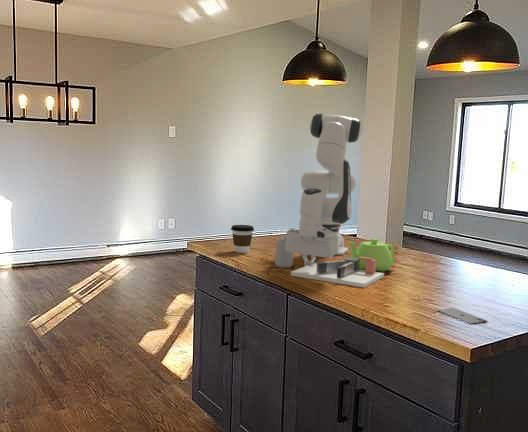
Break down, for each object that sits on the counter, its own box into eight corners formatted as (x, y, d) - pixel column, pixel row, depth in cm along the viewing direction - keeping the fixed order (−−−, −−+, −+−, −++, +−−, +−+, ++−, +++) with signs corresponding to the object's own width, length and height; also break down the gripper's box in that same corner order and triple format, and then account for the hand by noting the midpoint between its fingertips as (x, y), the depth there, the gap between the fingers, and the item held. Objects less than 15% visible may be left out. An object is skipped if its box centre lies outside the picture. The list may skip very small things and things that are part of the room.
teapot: (353, 274, 225) (355, 242, 224) (338, 266, 240) (340, 236, 238) (402, 273, 231) (404, 241, 230) (385, 265, 246) (387, 235, 244)
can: (291, 269, 231) (292, 240, 230) (273, 267, 233) (274, 238, 231) (294, 265, 238) (295, 237, 237) (276, 264, 240) (277, 236, 238)
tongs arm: (344, 269, 226) (345, 260, 225) (347, 270, 224) (347, 260, 224) (316, 272, 218) (317, 262, 218) (318, 273, 217) (319, 263, 217)
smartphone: (453, 307, 181) (489, 320, 168) (453, 309, 182) (489, 323, 168) (435, 309, 178) (471, 323, 165) (435, 311, 178) (470, 326, 165)
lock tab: (359, 270, 226) (360, 256, 225) (375, 272, 223) (376, 258, 222) (357, 271, 224) (357, 257, 223) (372, 273, 220) (373, 259, 220)
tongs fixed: (348, 268, 229) (348, 257, 228) (359, 270, 226) (359, 258, 226) (329, 276, 213) (330, 264, 212) (341, 278, 210) (342, 266, 210)
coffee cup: (258, 252, 263) (258, 227, 262) (238, 254, 257) (238, 228, 256) (245, 248, 272) (246, 224, 271) (225, 250, 266) (226, 225, 265)
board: (314, 266, 238) (315, 262, 238) (383, 276, 223) (384, 273, 223) (290, 275, 219) (290, 271, 219) (364, 287, 204) (364, 283, 204)
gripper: (283, 228, 221) (281, 263, 223) (331, 234, 211) (329, 271, 213) (290, 227, 227) (289, 261, 228) (337, 232, 217) (335, 268, 218)
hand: (308, 266), depth 221 cm, fingers closed
